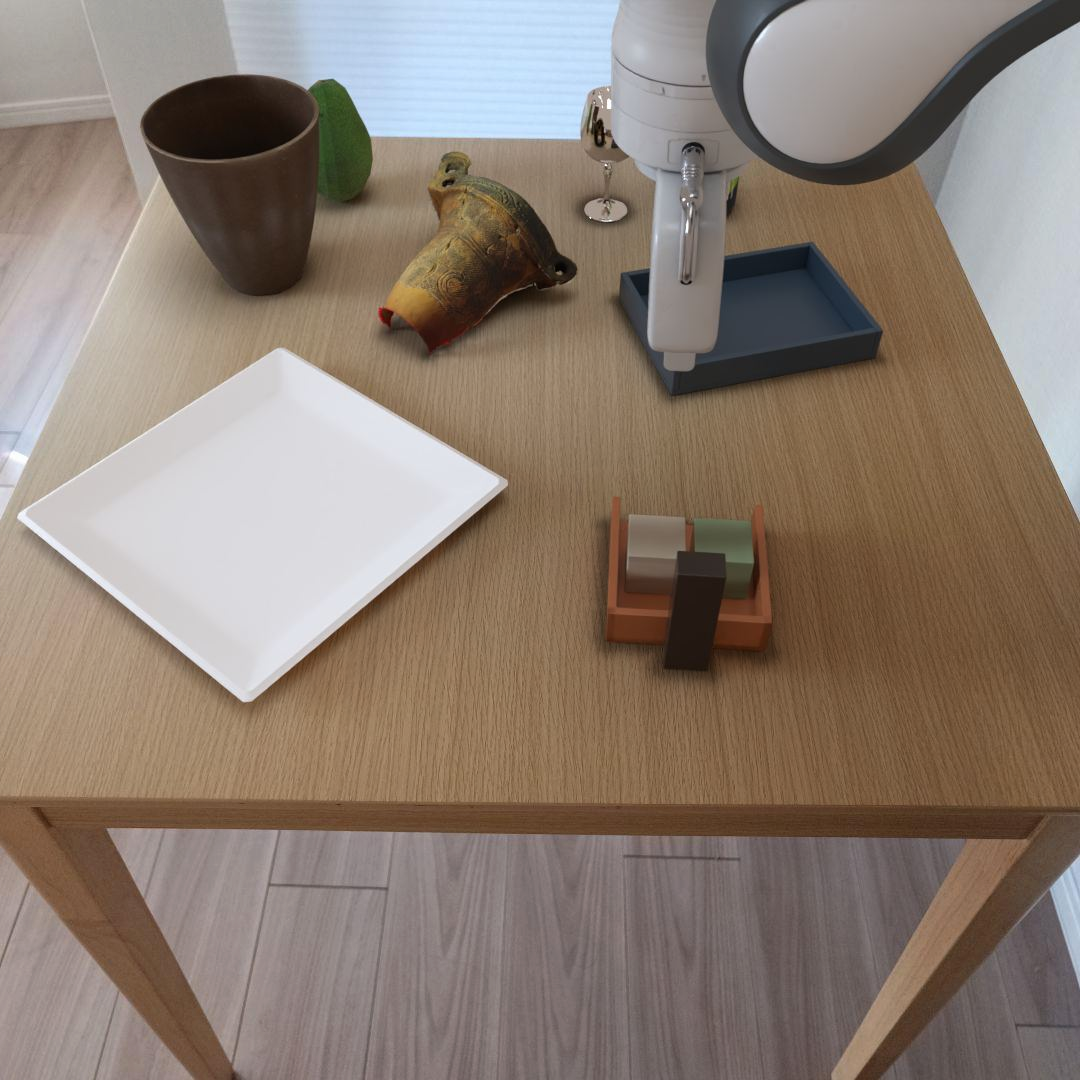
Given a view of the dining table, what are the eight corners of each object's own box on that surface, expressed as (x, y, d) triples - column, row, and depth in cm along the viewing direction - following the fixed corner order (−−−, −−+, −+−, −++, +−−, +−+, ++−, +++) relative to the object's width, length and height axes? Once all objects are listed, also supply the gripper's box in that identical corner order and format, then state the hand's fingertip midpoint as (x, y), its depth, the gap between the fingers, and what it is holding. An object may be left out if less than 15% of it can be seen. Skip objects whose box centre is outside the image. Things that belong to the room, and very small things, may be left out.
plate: (511, 499, 85) (511, 480, 84) (252, 720, 72) (246, 703, 70) (284, 362, 96) (280, 343, 95) (22, 532, 83) (13, 513, 81)
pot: (315, 240, 93) (452, 103, 97) (331, 303, 104) (454, 177, 108) (472, 361, 91) (605, 215, 95) (472, 413, 102) (591, 280, 106)
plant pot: (331, 322, 100) (304, 160, 88) (168, 321, 100) (119, 159, 88) (351, 231, 110) (329, 74, 98) (203, 230, 110) (162, 73, 98)
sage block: (745, 600, 78) (754, 563, 75) (689, 596, 78) (695, 559, 75) (743, 557, 80) (751, 520, 77) (688, 554, 81) (694, 517, 78)
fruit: (303, 221, 111) (283, 107, 102) (296, 181, 116) (276, 69, 107) (382, 211, 112) (369, 98, 103) (372, 172, 118) (358, 61, 109)
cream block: (680, 596, 78) (686, 559, 75) (624, 592, 78) (627, 555, 75) (680, 553, 81) (685, 516, 78) (625, 550, 81) (629, 513, 78)
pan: (766, 675, 74) (792, 581, 67) (604, 665, 75) (612, 570, 67) (756, 533, 83) (777, 436, 75) (610, 525, 83) (617, 427, 76)
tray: (807, 268, 106) (812, 241, 104) (875, 357, 97) (883, 330, 95) (618, 299, 102) (620, 272, 100) (671, 396, 93) (674, 368, 91)
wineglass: (587, 229, 110) (591, 115, 101) (570, 199, 114) (573, 87, 105) (641, 221, 111) (650, 107, 102) (623, 192, 115) (630, 80, 106)
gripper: (760, 214, 50) (733, 432, 61) (754, 11, 63) (732, 220, 74) (622, 211, 51) (619, 427, 61) (644, 11, 64) (638, 217, 74)
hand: (681, 312), depth 68 cm, fingers open, 8 cm apart
